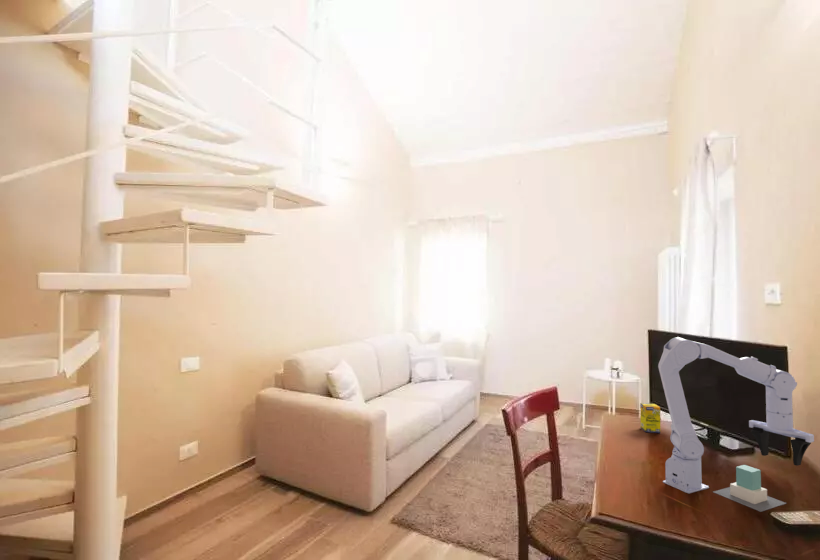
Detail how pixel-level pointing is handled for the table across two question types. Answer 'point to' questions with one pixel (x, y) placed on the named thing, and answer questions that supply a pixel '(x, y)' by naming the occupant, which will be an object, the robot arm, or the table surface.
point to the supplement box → (650, 418)
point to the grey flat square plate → (759, 506)
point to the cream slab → (748, 493)
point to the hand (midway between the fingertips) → (780, 459)
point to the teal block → (748, 477)
